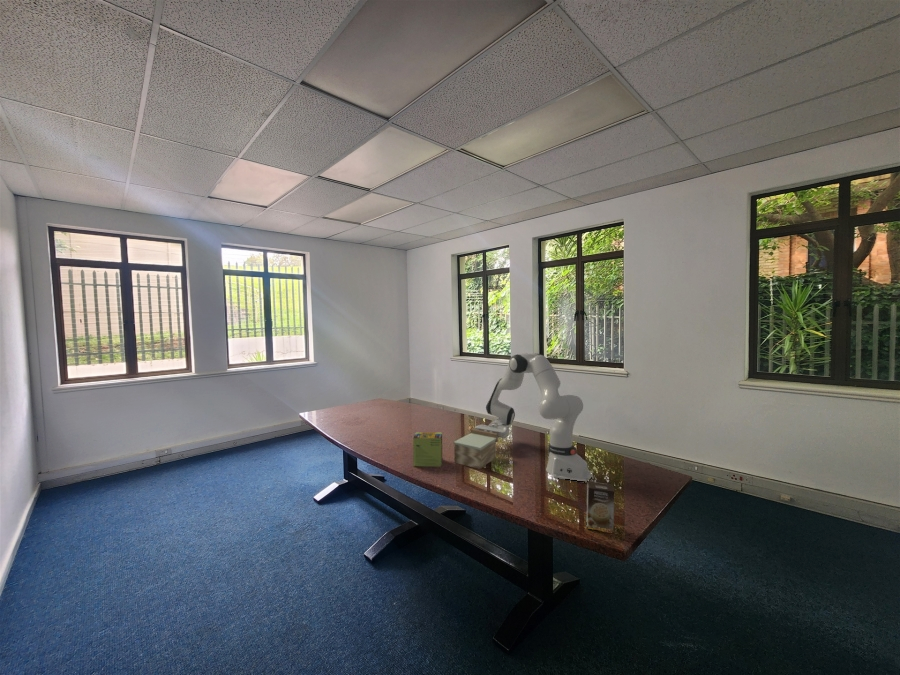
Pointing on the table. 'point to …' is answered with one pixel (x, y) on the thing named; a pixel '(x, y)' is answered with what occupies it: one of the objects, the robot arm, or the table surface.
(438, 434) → the protein box
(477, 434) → the lid
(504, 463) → the table surface
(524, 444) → the table surface
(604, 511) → the coffee box
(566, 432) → the robot arm
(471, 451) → the crate
